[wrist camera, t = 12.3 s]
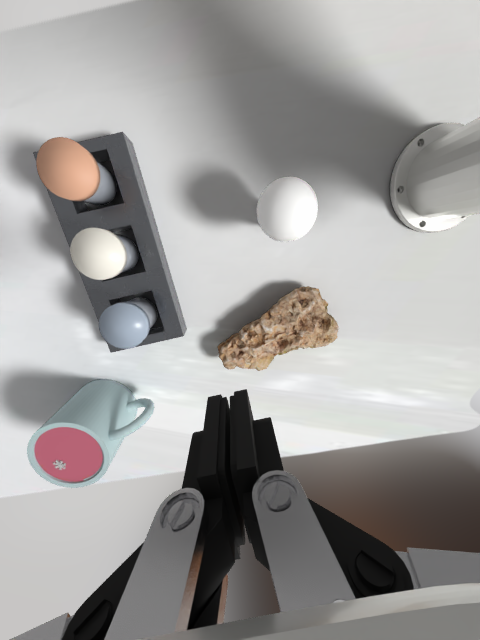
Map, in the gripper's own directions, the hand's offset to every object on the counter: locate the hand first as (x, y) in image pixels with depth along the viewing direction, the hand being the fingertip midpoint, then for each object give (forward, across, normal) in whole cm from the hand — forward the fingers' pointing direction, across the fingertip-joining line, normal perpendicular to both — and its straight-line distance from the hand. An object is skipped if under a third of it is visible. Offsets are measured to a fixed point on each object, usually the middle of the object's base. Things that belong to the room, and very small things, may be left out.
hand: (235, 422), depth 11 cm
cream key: (+25, +12, -9) cm, 29 cm away
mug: (+26, +20, +12) cm, 35 cm away
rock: (+27, -6, +7) cm, 28 cm away
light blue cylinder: (+24, +12, -1) cm, 27 cm away
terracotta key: (+25, +12, -17) cm, 32 cm away
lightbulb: (+27, -8, -9) cm, 29 cm away
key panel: (+26, +12, -9) cm, 30 cm away
